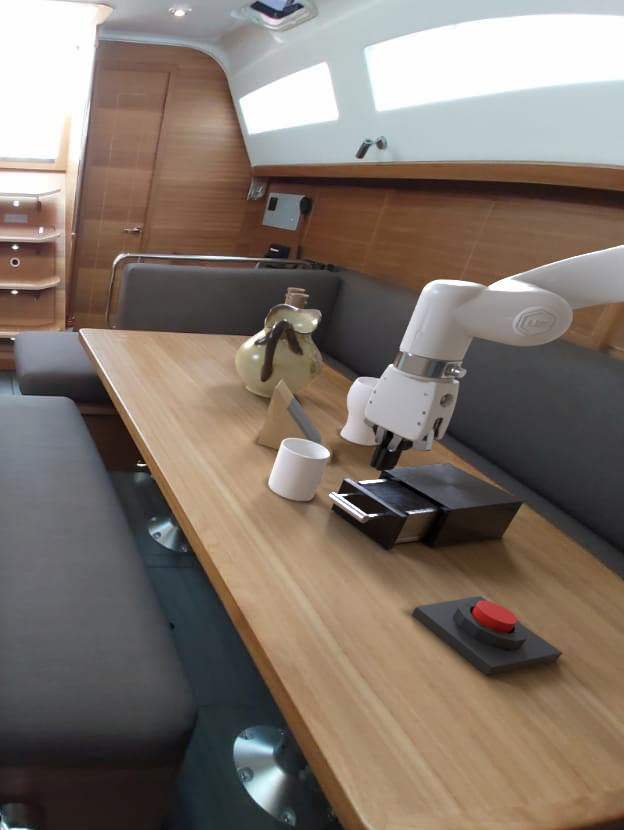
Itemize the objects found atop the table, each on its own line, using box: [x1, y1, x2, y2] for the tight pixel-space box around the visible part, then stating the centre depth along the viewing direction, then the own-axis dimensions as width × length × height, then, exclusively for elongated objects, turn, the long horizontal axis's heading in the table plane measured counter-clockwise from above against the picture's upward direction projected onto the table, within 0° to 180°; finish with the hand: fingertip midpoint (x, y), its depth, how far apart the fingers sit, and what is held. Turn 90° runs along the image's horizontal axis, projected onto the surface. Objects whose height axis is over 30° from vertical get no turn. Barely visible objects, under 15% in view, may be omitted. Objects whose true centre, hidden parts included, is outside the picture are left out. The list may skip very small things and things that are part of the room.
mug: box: [268, 438, 330, 502], centre depth 101 cm, size 12×8×10 cm
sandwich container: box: [257, 379, 333, 465], centre depth 115 cm, size 9×15×15 cm, turn 52°
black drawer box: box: [377, 462, 525, 549], centre depth 92 cm, size 16×13×9 cm
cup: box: [339, 376, 380, 446], centre depth 121 cm, size 11×11×15 cm
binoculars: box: [284, 287, 310, 309], centre depth 172 cm, size 21×10×25 cm, turn 155°
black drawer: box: [327, 478, 444, 551], centre depth 89 cm, size 20×12×7 cm, turn 102°
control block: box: [411, 595, 563, 677], centre depth 69 cm, size 12×10×4 cm
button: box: [472, 600, 518, 633], centre depth 67 cm, size 4×4×2 cm
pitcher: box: [234, 303, 323, 399], centre depth 145 cm, size 22×24×25 cm
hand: (381, 467), depth 83 cm, fingers closed
